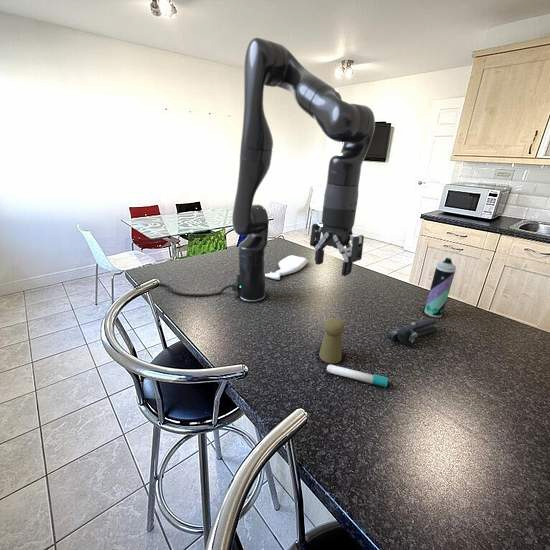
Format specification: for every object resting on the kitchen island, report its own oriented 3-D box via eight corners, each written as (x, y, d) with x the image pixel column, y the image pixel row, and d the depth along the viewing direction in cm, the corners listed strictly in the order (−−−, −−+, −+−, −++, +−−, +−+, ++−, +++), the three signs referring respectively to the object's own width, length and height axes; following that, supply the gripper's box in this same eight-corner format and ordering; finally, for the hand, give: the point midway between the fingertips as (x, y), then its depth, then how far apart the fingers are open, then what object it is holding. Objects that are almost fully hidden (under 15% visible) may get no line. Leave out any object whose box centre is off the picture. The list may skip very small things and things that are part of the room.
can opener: (403, 351, 80) (407, 335, 78) (384, 338, 86) (387, 321, 84) (444, 335, 88) (449, 319, 86) (424, 323, 94) (428, 308, 91)
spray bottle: (308, 264, 138) (282, 283, 119) (288, 259, 143) (260, 277, 124) (309, 258, 136) (282, 277, 118) (289, 254, 142) (260, 271, 123)
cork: (341, 365, 75) (347, 329, 70) (318, 361, 76) (322, 326, 72) (341, 350, 80) (346, 316, 76) (319, 347, 81) (323, 313, 77)
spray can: (421, 309, 102) (435, 255, 94) (436, 308, 102) (451, 255, 94) (430, 317, 97) (445, 261, 89) (445, 317, 97) (462, 261, 89)
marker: (325, 373, 72) (326, 366, 71) (327, 367, 74) (328, 360, 73) (386, 389, 68) (388, 382, 67) (386, 382, 70) (388, 375, 69)
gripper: (306, 200, 69) (301, 263, 76) (355, 212, 60) (345, 283, 66) (327, 197, 74) (320, 257, 81) (376, 208, 64) (364, 275, 71)
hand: (331, 269), depth 73 cm, fingers open, 8 cm apart
